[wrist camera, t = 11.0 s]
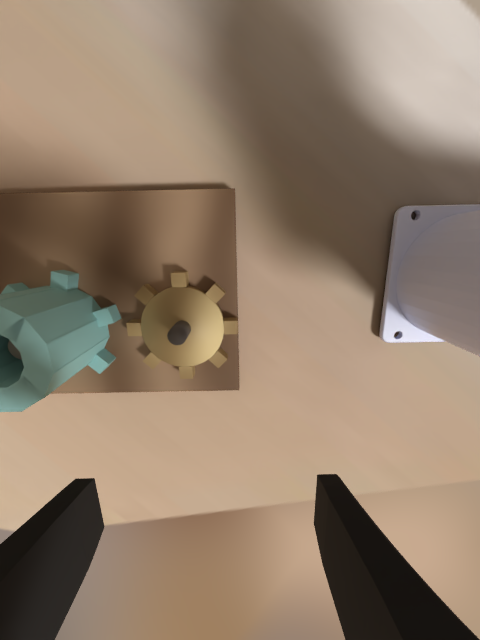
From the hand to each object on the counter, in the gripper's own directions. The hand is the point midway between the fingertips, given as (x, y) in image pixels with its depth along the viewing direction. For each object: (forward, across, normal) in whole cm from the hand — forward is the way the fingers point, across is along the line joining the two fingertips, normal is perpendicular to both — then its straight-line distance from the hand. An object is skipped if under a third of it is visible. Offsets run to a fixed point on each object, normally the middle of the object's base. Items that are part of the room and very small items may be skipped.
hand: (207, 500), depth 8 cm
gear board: (+9, +6, -5) cm, 12 cm away
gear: (+9, +9, -4) cm, 13 cm away
